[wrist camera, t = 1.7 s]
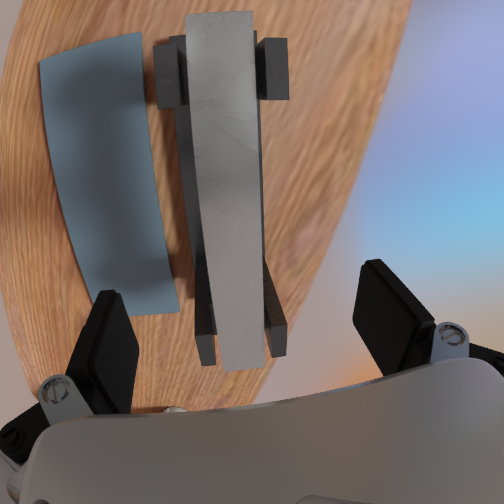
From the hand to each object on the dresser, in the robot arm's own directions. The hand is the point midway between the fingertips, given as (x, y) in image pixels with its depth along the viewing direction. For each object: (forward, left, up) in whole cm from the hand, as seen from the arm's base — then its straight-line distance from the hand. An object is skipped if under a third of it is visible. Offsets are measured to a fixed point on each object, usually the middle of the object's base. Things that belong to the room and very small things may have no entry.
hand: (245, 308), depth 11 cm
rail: (-1, 0, -8) cm, 8 cm away
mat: (-1, -10, -16) cm, 19 cm away
